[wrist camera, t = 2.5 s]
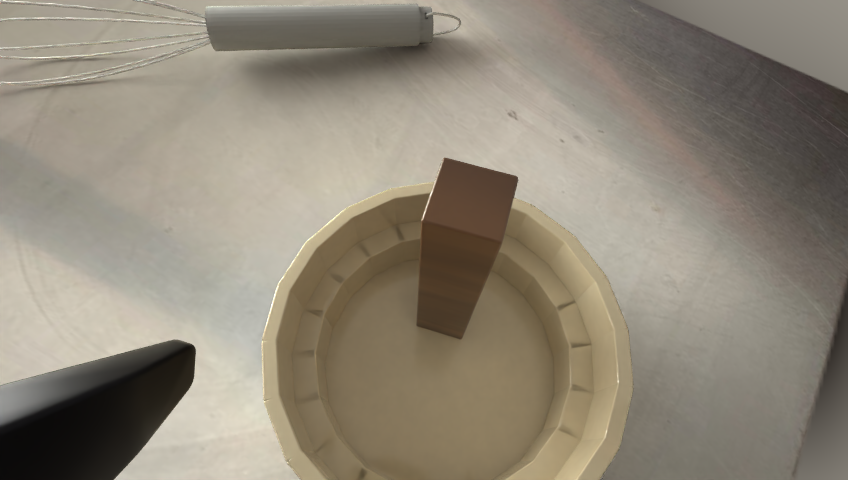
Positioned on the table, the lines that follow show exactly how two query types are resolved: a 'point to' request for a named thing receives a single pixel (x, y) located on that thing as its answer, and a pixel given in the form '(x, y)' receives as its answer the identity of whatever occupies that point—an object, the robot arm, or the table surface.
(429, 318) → the stir stick
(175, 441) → the table surface
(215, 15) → the kitchen whisk
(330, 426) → the bowl
